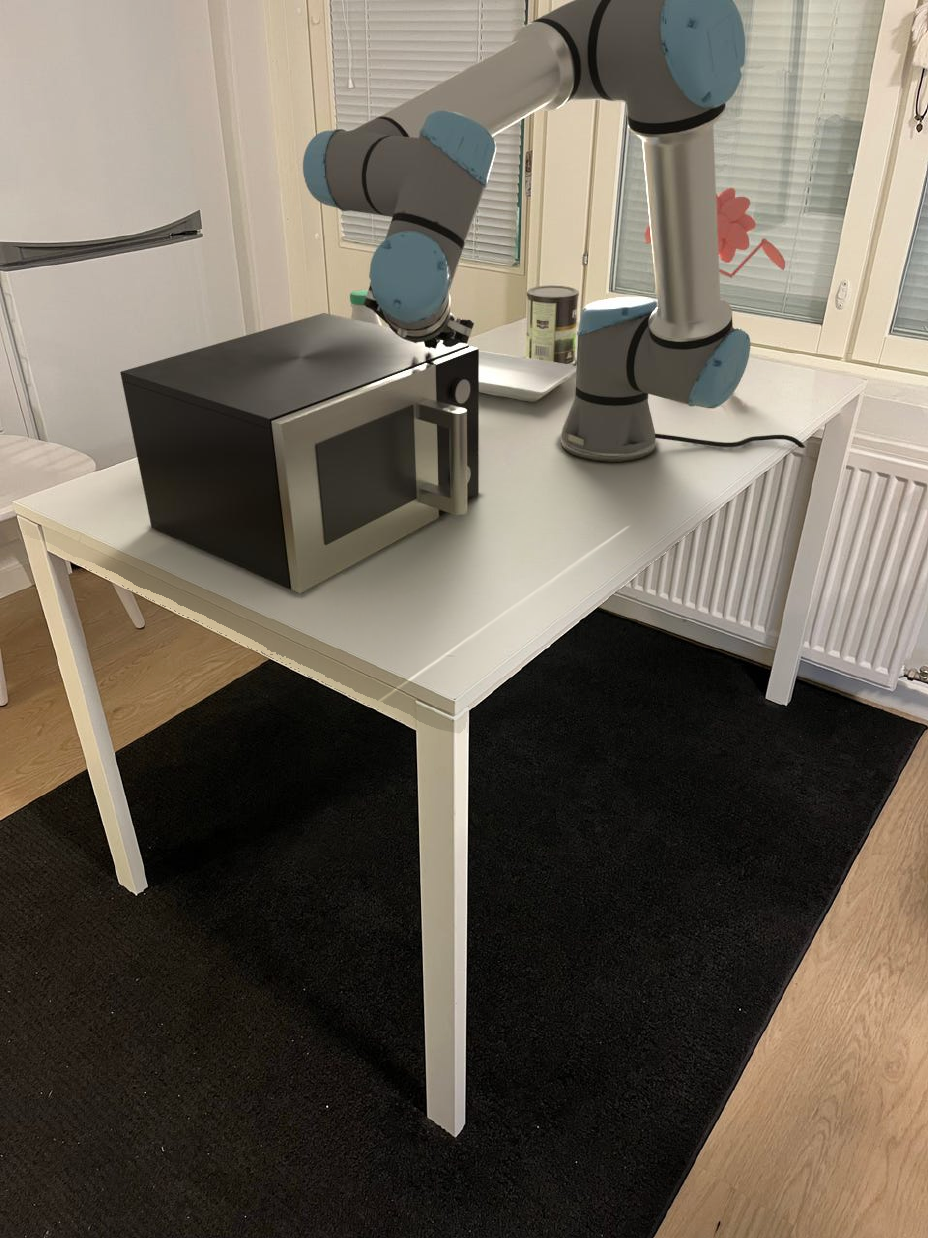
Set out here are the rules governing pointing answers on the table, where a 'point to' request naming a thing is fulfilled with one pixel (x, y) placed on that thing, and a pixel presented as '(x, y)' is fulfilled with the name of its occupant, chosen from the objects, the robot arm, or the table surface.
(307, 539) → the microwave door
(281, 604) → the table surface
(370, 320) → the milk bottle
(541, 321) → the coffee can
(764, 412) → the table surface
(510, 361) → the tray
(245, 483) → the microwave
